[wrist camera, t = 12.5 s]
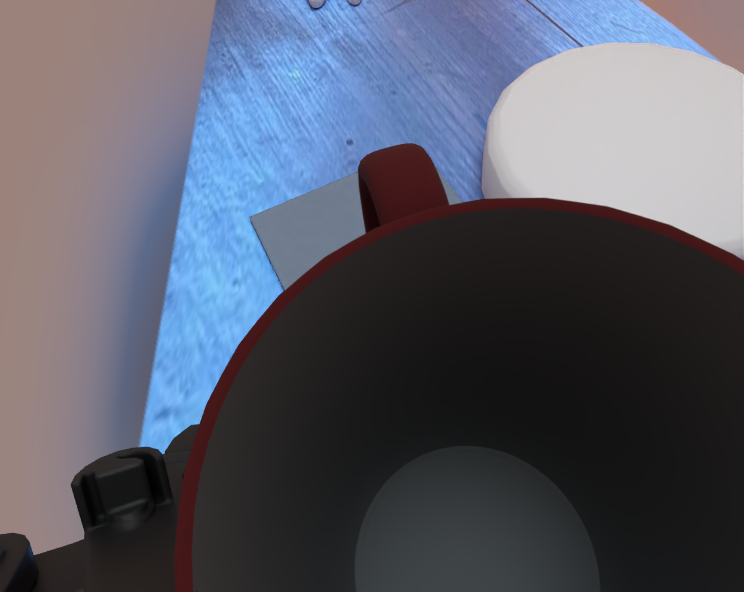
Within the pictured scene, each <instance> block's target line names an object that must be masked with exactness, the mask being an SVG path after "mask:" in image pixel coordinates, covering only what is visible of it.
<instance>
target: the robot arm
mask: <svg viewBox="0 0 744 592" xmlns="http://www.w3.org/2000/svg"><path fill="white" fill-rule="evenodd" d="M198 427H199V424H197V425H191V426H189V427H188V428H187V429H185V430H184V431H183V432H181V433H180V434H179V435H177V436H176V437H175V438H174V439H173V440H172V442H171V443H170V445H169V446H168V448H167V449H166V451H165V454H162V453H161V452H160V451H159V450H158V449H154V448H150V447H136V448H130V449H125V450H121V451H117V452H114V453H112V454H109V455H106V456H104V457H101V458H99V459H97V460H96V461H94V462H92V463H91V464H89V465H87V466H85V467H84V469H82V470H81V471H80V472H79V473H78V474H76V475H75V477H74V479H73V481H72V483H71V488H72V491H73V494H74V498H75V501H76V505H77V508H78V511H79V515H80V518H81V521H82V525H83V528H84V532H85V534H84V539H83V540H80V541H78V542H75V543H73V544H69V545H66V546H63V547H60V548H57V549H53V550H50V551H47V552H44V553H40V554H37V555H33V552H32V549H31V546H30V542H29V541H28V539H27V538H26V537H25V535H21V534H16V533H8V534H0V592H176V591H175V566H174V552H175V542H176V531H177V521H178V512H179V505H180V498H181V492H182V485H183V478H184V473H185V469H186V466H187V463H188V459H189V456H190V452H191V449H192V446H193V442H194V439H195V436H196V433H197V430H198ZM196 592H198V591H196Z"/></svg>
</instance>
